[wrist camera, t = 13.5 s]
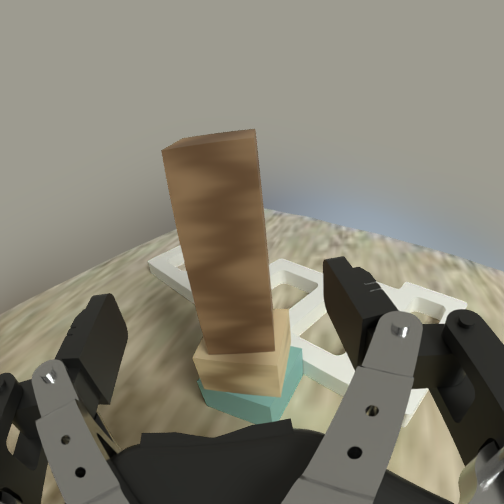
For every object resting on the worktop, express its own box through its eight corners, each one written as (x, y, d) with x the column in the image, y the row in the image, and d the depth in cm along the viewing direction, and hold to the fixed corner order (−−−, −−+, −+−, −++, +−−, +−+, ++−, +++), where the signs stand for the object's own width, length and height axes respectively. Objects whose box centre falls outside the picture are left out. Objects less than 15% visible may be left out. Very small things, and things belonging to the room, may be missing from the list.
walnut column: (208, 354, 23) (161, 150, 16) (215, 313, 27) (182, 138, 20) (275, 351, 22) (253, 137, 15) (273, 310, 27) (255, 128, 20)
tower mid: (204, 389, 25) (192, 357, 23) (224, 338, 30) (217, 306, 28) (280, 397, 23) (277, 365, 21) (291, 341, 28) (288, 309, 27)
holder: (150, 274, 52) (146, 261, 51) (229, 235, 63) (227, 223, 61) (403, 431, 22) (410, 416, 20) (462, 319, 32) (467, 302, 30)
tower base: (207, 406, 27) (196, 381, 25) (241, 358, 33) (236, 332, 31) (273, 430, 24) (269, 407, 22) (303, 375, 29) (302, 348, 27)
